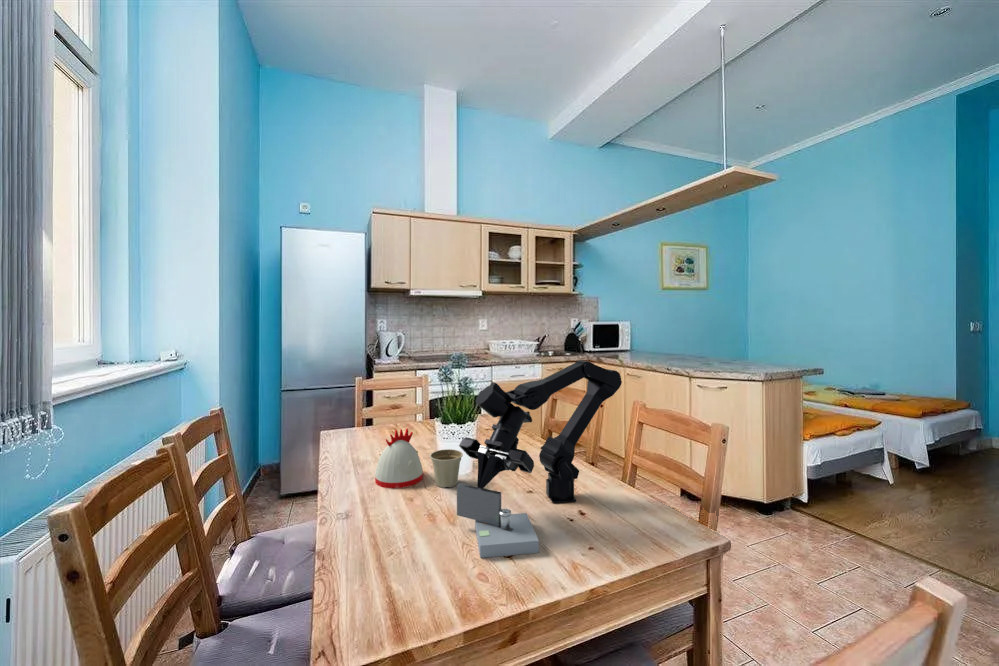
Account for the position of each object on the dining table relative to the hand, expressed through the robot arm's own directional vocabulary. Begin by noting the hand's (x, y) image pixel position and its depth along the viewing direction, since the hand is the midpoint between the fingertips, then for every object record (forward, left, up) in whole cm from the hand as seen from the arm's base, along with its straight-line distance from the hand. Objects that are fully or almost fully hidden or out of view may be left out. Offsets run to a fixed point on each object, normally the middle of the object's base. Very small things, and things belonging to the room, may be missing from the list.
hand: (479, 488), depth 91 cm
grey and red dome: (+21, -33, -10) cm, 41 cm away
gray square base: (-5, +5, -10) cm, 12 cm away
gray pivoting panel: (-1, +2, -7) cm, 7 cm away
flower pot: (+7, -27, -10) cm, 30 cm away
